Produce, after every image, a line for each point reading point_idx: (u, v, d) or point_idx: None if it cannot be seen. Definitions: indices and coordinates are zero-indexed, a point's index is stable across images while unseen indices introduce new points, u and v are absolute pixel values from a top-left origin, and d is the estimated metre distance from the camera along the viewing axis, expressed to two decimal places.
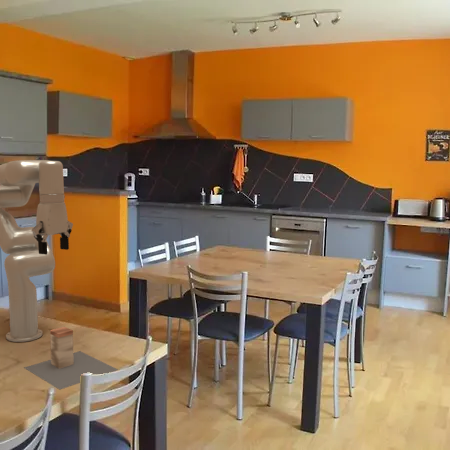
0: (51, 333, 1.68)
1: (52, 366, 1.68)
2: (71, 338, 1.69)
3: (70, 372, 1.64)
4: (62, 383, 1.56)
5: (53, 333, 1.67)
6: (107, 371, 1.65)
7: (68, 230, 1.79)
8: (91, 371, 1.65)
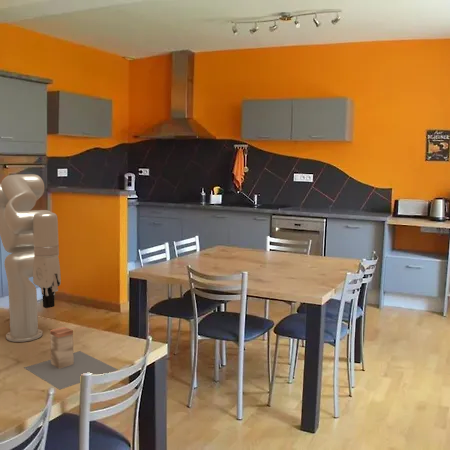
0: (51, 333, 1.68)
1: (52, 366, 1.68)
2: (71, 338, 1.69)
3: (70, 372, 1.64)
4: (62, 383, 1.56)
5: (53, 333, 1.67)
6: (107, 371, 1.65)
7: None
8: (91, 371, 1.65)
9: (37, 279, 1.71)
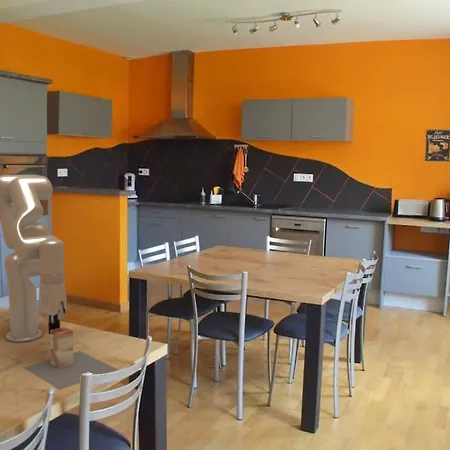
0: (51, 333, 1.68)
1: (52, 366, 1.68)
2: (71, 338, 1.69)
3: (70, 372, 1.64)
4: (62, 383, 1.56)
5: (53, 333, 1.67)
6: (107, 371, 1.65)
7: None
8: (91, 371, 1.65)
9: (43, 306, 1.70)
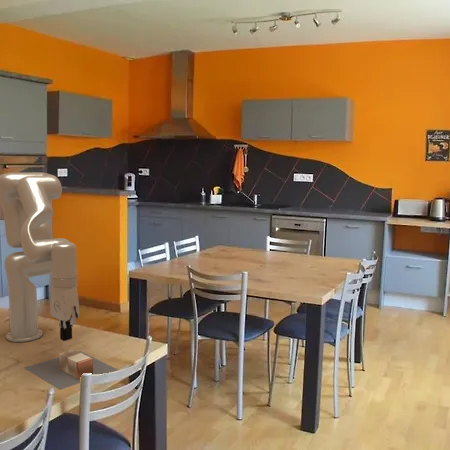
0: (76, 365, 1.59)
1: (52, 366, 1.68)
2: None
3: None
4: (62, 383, 1.56)
5: (77, 369, 1.59)
6: (107, 371, 1.65)
7: None
8: None
9: (55, 311, 1.65)
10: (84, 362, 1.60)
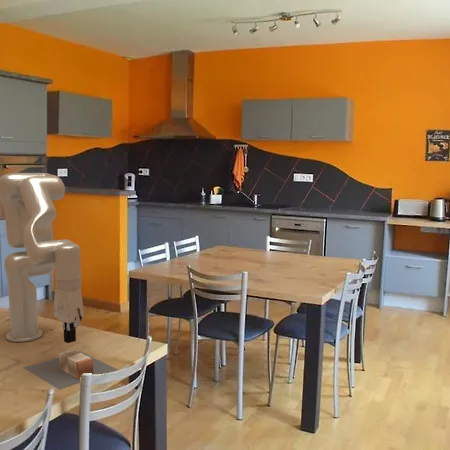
0: (76, 365, 1.59)
1: (52, 366, 1.68)
2: None
3: None
4: (62, 383, 1.56)
5: (77, 369, 1.59)
6: (107, 371, 1.65)
7: None
8: None
9: (58, 313, 1.63)
10: (84, 362, 1.60)
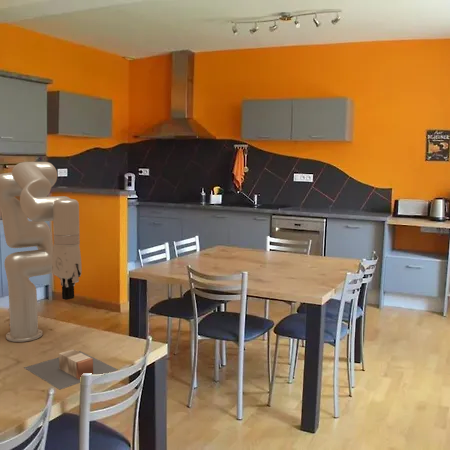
0: (76, 365, 1.59)
1: (52, 366, 1.68)
2: None
3: None
4: (62, 383, 1.56)
5: (77, 369, 1.59)
6: (107, 371, 1.65)
7: None
8: None
9: (56, 269, 1.61)
10: (84, 362, 1.60)
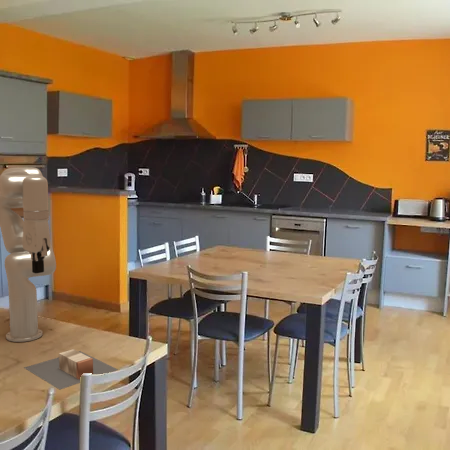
0: (76, 365, 1.59)
1: (52, 366, 1.68)
2: None
3: None
4: (62, 383, 1.56)
5: (77, 369, 1.59)
6: (107, 371, 1.65)
7: None
8: None
9: (26, 244, 1.69)
10: (84, 362, 1.60)
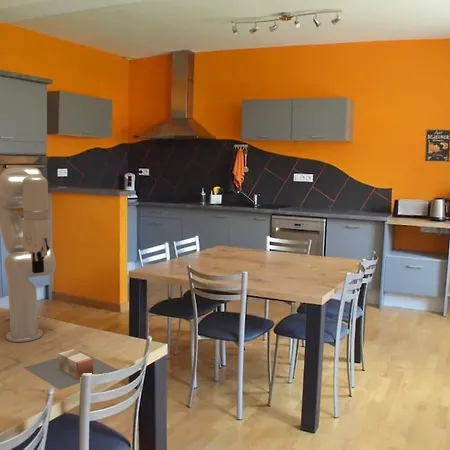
0: (76, 365, 1.59)
1: (52, 366, 1.68)
2: None
3: None
4: (62, 383, 1.56)
5: (77, 369, 1.59)
6: (107, 371, 1.65)
7: None
8: None
9: (26, 244, 1.69)
10: (84, 362, 1.60)
